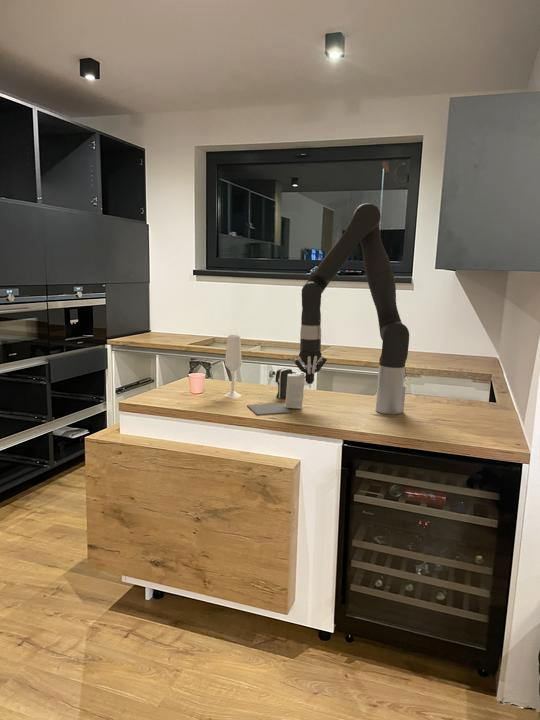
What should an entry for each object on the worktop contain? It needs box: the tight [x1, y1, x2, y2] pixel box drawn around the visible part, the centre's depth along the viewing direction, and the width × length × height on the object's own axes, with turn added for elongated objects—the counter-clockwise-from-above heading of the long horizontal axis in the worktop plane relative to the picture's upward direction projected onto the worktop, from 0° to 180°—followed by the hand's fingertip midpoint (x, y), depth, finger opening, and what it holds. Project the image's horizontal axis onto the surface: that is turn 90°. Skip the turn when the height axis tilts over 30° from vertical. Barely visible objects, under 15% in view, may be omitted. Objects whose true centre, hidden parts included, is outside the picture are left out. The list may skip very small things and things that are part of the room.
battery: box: [275, 367, 293, 399], centre depth 207 cm, size 7×4×11 cm, turn 139°
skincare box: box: [284, 373, 306, 410], centre depth 191 cm, size 6×4×12 cm
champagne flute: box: [224, 334, 243, 399], centre depth 205 cm, size 7×7×24 cm
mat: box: [246, 402, 293, 416], centre depth 189 cm, size 13×12×1 cm
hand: (309, 383), depth 193 cm, fingers closed
